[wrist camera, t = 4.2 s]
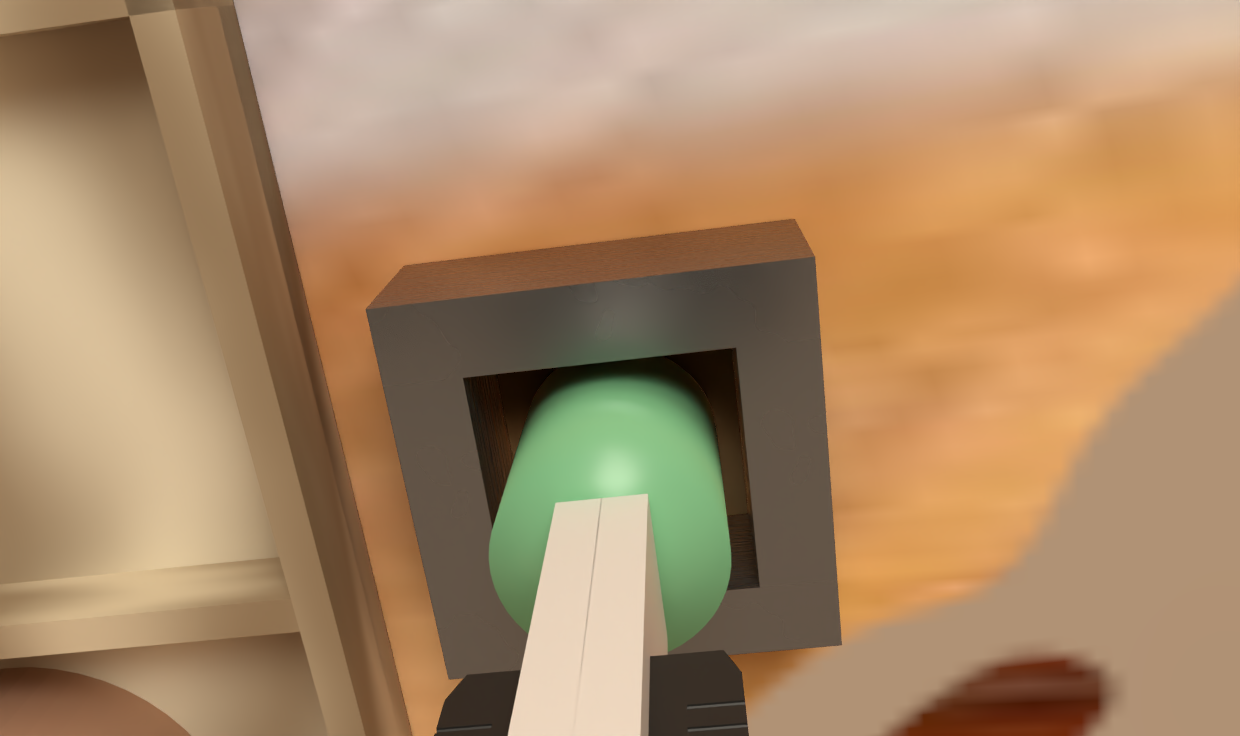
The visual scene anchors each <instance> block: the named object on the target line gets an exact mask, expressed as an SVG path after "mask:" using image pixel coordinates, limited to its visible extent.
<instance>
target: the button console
mask: <svg viewBox="0 0 1240 736" xmlns="http://www.w3.org/2000/svg"><path fill="white" fill-rule="evenodd" d="M366 313H367V317H368V322H369V326H370V331H371V335H372V339H373V344H374V348H375V353H376V357H377V362H378V366H379V371H380V375H381V380H382V384H383V389H384V393H385V397H386V402H387V406H388V411H389V415H390V420H391V424H392V429H393V433H394V438H395V442H396V446H397V451H398V455H399V460H400V464H401V469H402V473H403V478H404V482H405V487H406V491H407V496H408V500H409V504H410V509H411V513H412V518H413V522H414V527H415V531H416V536H417V540H418V545H419V549H420V554H421V558H422V562H423V567H424V571H425V576H426V580H427V585H428V589H429V594H430V598H431V603H432V607H433V611H434V616H435V620H436V625H437V629H438V634H439V638H440V643H441V647H442V652H443V656H444V661H445V665H446V669H447V674H448V678H449V679H461V678H465V677H466V675H469V674H481V673H492V672H504V671H515V670H521V668H522V663H523V658H524V654H525V649H526V644H527V639H528V633H526V632H525V631H524V630H523V629H522V628H521V627H520V626H519V625H518V624H517V623H516V622H515V621H514V619H513V618H512V617H511V616H510V615H509V613H508V612H507V611H506V609H505V607H504V606H503V604H502V602H501V601H500V599H499V597H498V594H497V592H496V590H495V587H494V584H493V581H492V577H491V573H490V565H489V544H490V538H491V532H492V529H493V526H494V522H495V519H496V516H497V512H498V509H499V506H500V503H501V499H502V496H503V493H504V489H505V486H506V483H507V480H508V476H509V473H510V470H511V467H512V463H513V459H512V454H511V448H510V443H509V437H508V432H507V426H506V421H505V415H504V410H503V404H502V399H501V394H500V388H499V383H498V377H497V374H502V373H511V372H520V371H529V370H538V369H547V368H556V367H565V366H574V365H583V364H592V363H601V362H610V361H619V360H628V359H637V358H647V357H656V356H665V355H674V354H683V353H692V352H701V351H710V350H719V349H728V348H732V358H733V367H734V377H735V387H736V397H737V407H738V417H739V427H740V437H741V447H742V457H743V467H744V477H745V487H746V497H747V507H748V514H740V515H730V516H727V522H728V530H729V538H730V547H731V572H730V579H729V583H728V586H727V590H726V593H725V595H724V597H723V600H722V602H721V604H720V606H719V607H718V609H717V611H716V612H715V614H714V615H713V617H712V618H711V619H710V620H709V622H708V623H707V624H706V625H705V626H704V627H703V628H702V629H701V630H700V631H699V632H698V633H697V634H696V635H695V636H694V637H692V638H691V639H689V640H688V641H686V642H685V643H684V644H682V645H681V646H679V647H677V648H675V649H673V650H671V651H669V652H668V655H670V654H682V653H693V652H705V651H716V650H724V651H725V652H726V654H727V655H735V654H747V653H758V652H770V651H781V650H792V649H804V648H815V647H827V646H838V645H842V641H841V627H840V612H839V598H838V583H837V569H836V554H835V540H834V525H833V511H832V496H831V482H830V467H829V453H828V438H827V424H826V409H825V395H824V380H823V366H822V351H821V337H820V322H819V308H818V293H817V279H816V264H815V256H814V254H813V252H812V250H811V248H810V247H809V245H808V243H807V241H806V239H805V237H804V236H803V234H802V232H801V230H800V228H799V226H798V224H797V223H796V221H795V219H790V220H781V221H773V222H765V223H756V224H748V225H740V226H731V227H723V228H715V229H706V230H698V231H690V232H681V233H673V234H665V235H656V236H648V237H640V238H631V239H623V240H615V241H606V242H598V243H590V244H581V245H573V246H565V247H556V248H548V249H540V250H531V251H523V252H515V253H506V254H498V255H490V256H481V257H473V258H465V259H456V260H448V261H440V262H431V263H423V264H415V265H406V266H403V268H402V269H401V270H400V271H399V272H398V273H397V274H396V275H395V277H394V278H393V279H392V280H391V281H390V282H389V283H388V285H387V286H386V287H385V288H384V289H383V290H382V291H381V292H380V294H379V295H378V296H377V297H376V298H375V299H374V300H373V302H372V303H371V304H370V305H369V306H368V307H367V308H366Z"/></svg>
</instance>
